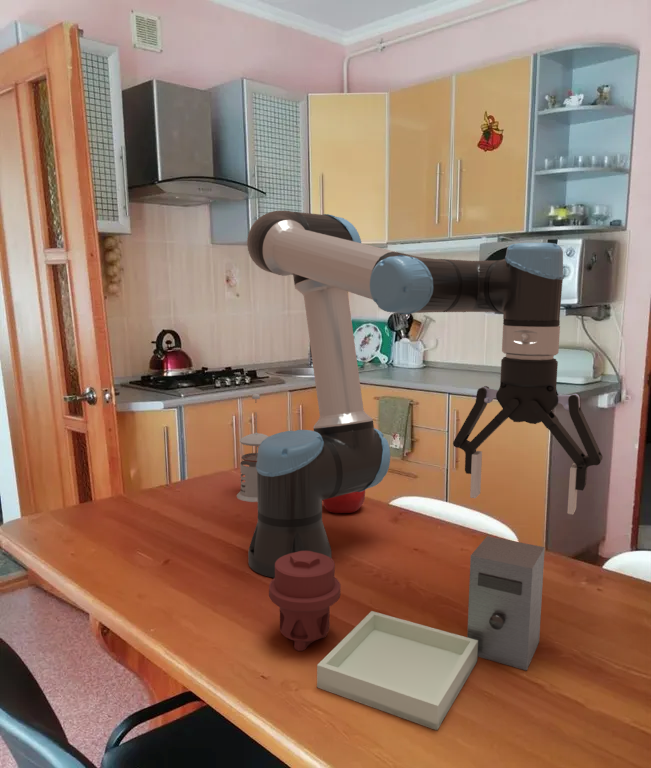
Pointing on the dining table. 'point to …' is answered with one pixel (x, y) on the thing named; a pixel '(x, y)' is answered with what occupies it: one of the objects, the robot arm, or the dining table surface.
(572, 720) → the dining table surface
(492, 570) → the unit
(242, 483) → the french press
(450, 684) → the tray
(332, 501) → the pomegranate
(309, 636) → the mechanical component
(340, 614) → the dining table surface
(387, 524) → the dining table surface
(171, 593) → the dining table surface
